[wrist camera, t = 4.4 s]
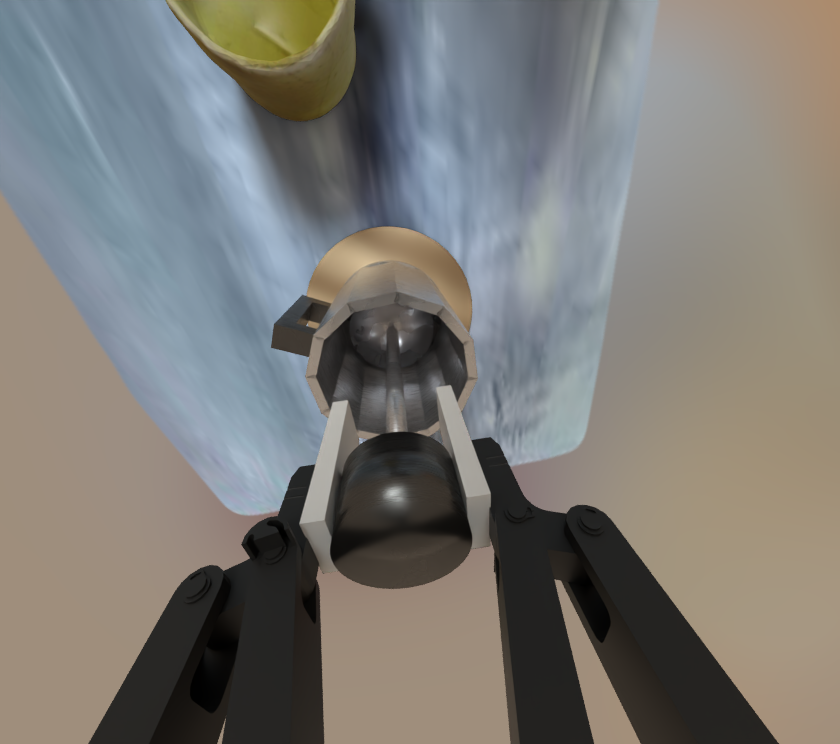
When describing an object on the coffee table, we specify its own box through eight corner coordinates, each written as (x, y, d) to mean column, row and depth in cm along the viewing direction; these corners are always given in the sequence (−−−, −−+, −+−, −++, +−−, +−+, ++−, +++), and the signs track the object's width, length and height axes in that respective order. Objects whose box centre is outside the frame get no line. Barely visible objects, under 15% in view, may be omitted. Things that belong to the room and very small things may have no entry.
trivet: (324, 197, 25) (323, 197, 24) (497, 261, 28) (499, 262, 28) (295, 364, 31) (294, 367, 31) (438, 398, 35) (438, 401, 35)
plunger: (361, 275, 24) (300, 441, 7) (444, 302, 26) (559, 487, 9) (342, 353, 27) (267, 603, 10) (417, 372, 29) (463, 614, 12)
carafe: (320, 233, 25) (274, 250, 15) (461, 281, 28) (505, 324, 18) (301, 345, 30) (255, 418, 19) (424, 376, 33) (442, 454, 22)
